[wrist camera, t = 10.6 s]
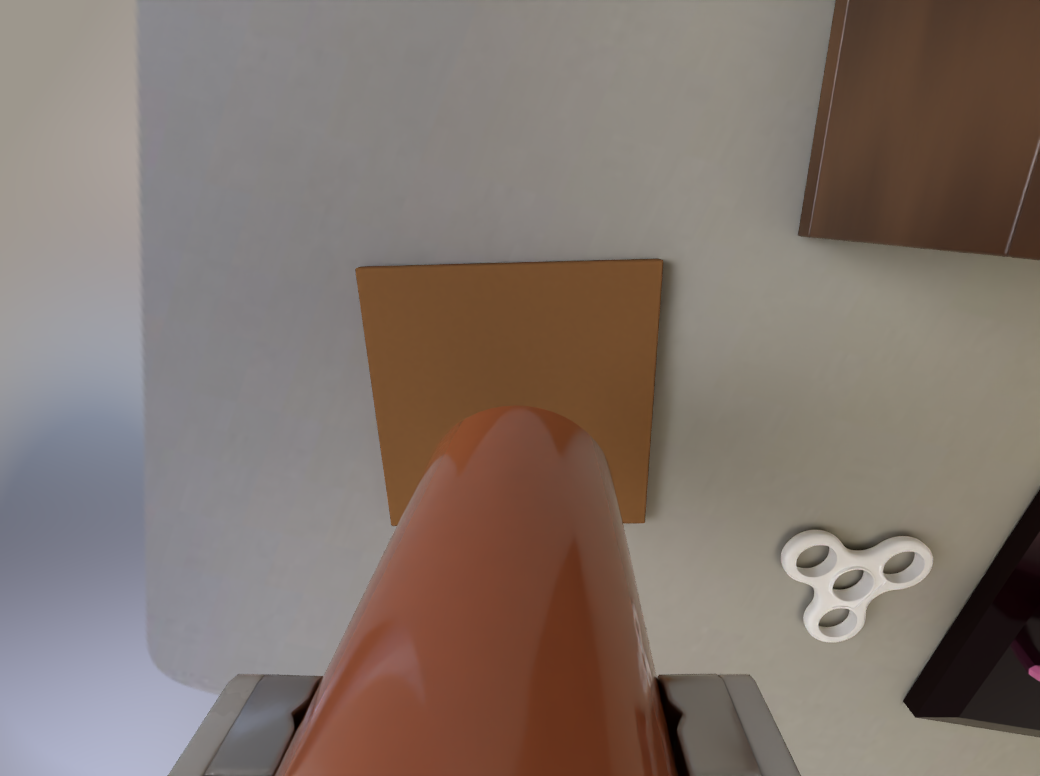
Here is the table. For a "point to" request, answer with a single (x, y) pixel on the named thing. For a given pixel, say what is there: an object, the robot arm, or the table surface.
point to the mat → (513, 357)
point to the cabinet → (929, 127)
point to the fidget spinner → (843, 562)
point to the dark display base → (992, 646)
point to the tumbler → (496, 623)
